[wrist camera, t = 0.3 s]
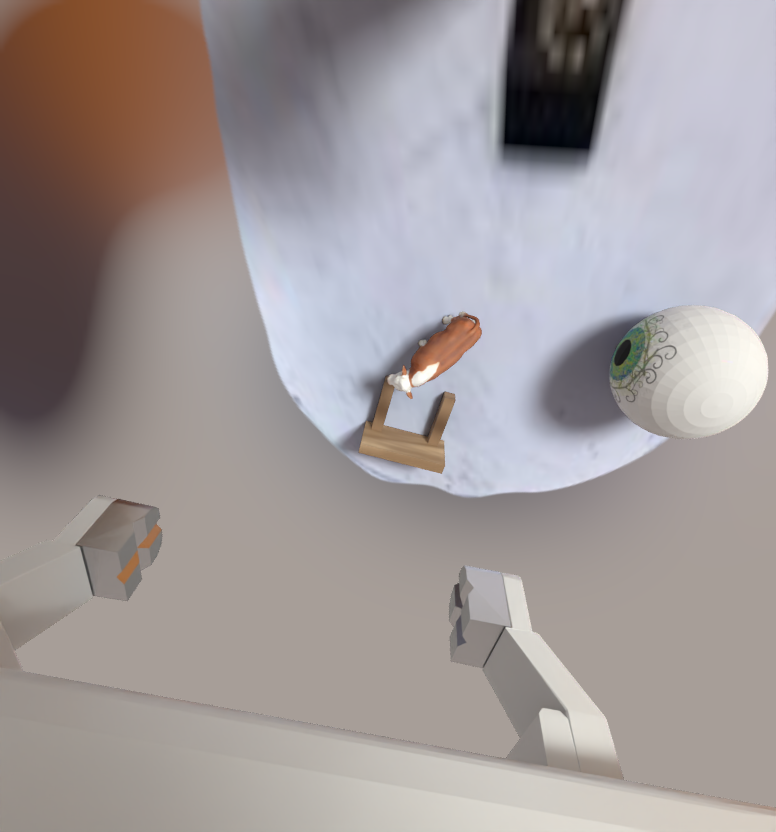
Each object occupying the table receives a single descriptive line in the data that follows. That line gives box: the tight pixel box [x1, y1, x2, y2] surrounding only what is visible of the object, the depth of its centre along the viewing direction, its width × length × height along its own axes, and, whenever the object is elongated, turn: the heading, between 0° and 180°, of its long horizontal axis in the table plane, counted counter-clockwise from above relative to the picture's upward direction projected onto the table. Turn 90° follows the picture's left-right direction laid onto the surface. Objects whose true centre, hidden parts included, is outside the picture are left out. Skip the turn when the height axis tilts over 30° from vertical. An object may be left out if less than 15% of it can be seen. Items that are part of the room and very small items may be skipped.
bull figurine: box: [387, 312, 482, 399], centre depth 57 cm, size 4×13×8 cm, turn 130°
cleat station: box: [359, 376, 455, 474], centre depth 64 cm, size 10×12×6 cm
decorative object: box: [610, 305, 768, 439], centre depth 52 cm, size 15×15×15 cm
